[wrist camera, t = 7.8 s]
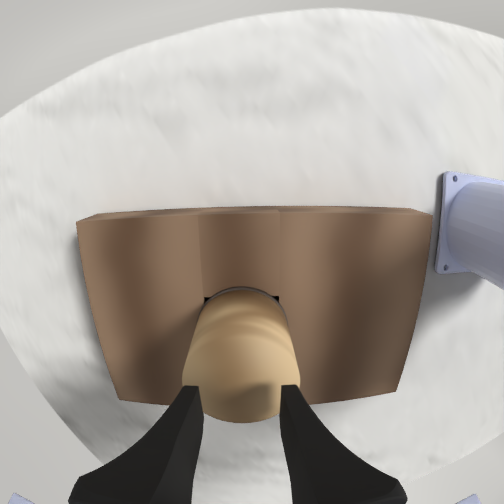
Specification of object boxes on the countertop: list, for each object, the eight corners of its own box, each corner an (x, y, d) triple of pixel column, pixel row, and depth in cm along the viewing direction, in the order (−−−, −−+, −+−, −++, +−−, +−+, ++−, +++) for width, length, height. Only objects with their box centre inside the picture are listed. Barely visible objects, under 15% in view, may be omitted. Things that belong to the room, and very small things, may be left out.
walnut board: (410, 208, 19) (432, 215, 16) (383, 370, 23) (395, 391, 20) (97, 213, 19) (75, 221, 16) (130, 377, 22) (119, 399, 20)
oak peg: (283, 270, 20) (306, 334, 12) (281, 341, 21) (296, 421, 13) (200, 271, 19) (173, 335, 12) (206, 342, 21) (189, 422, 13)
